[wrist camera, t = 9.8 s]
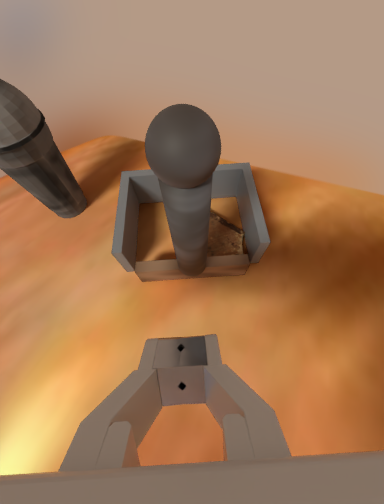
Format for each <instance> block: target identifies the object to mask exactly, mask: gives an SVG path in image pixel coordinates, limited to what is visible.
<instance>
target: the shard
mask: <svg viewBox="0 0 384 504" xmlns="http://www.w3.org/2000/svg"><path fill="white" fill-rule="evenodd" d="M244 234H245V232H244V231H242V230H240V229H239V228H237V227H236V226H234V225H233V224H231V223H228V222H227V221H226V220H224V219H223V218H221V217H219V216H218V215H216V214H215V213H213V212H211V211H210V220H209V234H208V248H207V257H213V256H227V255H242V254H243V249H242V239H243V236H244Z"/></svg>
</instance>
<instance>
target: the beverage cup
mask: <svg viewBox="0 0 384 504" xmlns="http://www.w3.org/2000/svg"><path fill="white" fill-rule="evenodd" d="M0 169H2V170H3V171H4V172H5V173H6V174H8V175H9V176H10V177H11V178H12V179H14V180H15V181H16V182H17V183H19V184H20V185H21V186H22V187H23V188H25V189H26V190H27V191H28V192H30V193H31V194H32V195H33V196H34V197H36V198H37V199H38V200H39V201H41V202H42V203H43V204H44V205H45V206H47V207H48V208H49V209H50V210H52V211H54V212H55V213H56V214H57V215H58V216H60V217H62V218H72V217H75V216H77V215H79V214H80V213H81V212H83V210H84V209H85V208H86V205H87V200H86V198H85V197H84V195H83V192H82V190H81V188H80V187H79V185H78V183H77V181H76V180H75V178H74V176H73V174H72V172H71V171H70V169H69V167H68V165H67V164H66V162H65V160H64V158H63V157H62V155H61V153H60V151H59V150H58V148H57V146H56V144H55V142H54V141H53V137H52V134H51V132H50V130H49V127H48V126H47V124H46V122H45V117H44V116H43V114H42V113H41V111H40V110H39V109H37V108H36V107H35V105H34V104H33V103H32V101H31V100H30V99H29V98H28V97H27V96H26V95H24V94H23V93H22V92H21V91H20V90H18V89H17V88H15V87H14V86H12V85H11V84H9V83H7V82H5V81H3V80H1V79H0Z"/></svg>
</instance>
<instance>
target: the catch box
mask: <svg viewBox="0 0 384 504" xmlns="http://www.w3.org/2000/svg"><path fill="white" fill-rule="evenodd" d="M225 197H236V198H237V203H238V208H239V213H240V218H241V222H242V227H243V231H244V232H245V234H244V237H245V242H246V247H247V252H248V257H249V261H250V263H258V262H259V260H260V259H261V257H262V255H263V254H264V252H265V250H266V249H267V247H268V246H269V244H270V239H269V235H268V231H267V227H266V224H265V220H264V216H263V212H262V209H261V205H260V201H259V197H258V194H257V190H256V186H255V182H254V179H253V175H252V171H251V167H250V164H249V163H236V164H221V165H217V167H216V169H215V171H214V172H213V179H212V193H211V198H225ZM153 202H163V198H162V194H161V190H160V186H159V181H158V177H157V176H156V175H155V174H154V172H153V171H152V170H151V169H150V170H136V171H122V174H121V182H120V190H119V197H118V205H117V213H116V221H115V229H114V237H113V245H112V255H113V256H114V257H115V258H116V259H117V261H118V262H119V263H120V264H121V265H122V267H123V268H124V269H125V270H126V271H127V272H130V271H135V265H136V250H137V234H138V219H139V204H140V203H153Z"/></svg>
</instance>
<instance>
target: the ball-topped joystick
mask: <svg viewBox="0 0 384 504" xmlns="http://www.w3.org/2000/svg"><path fill="white" fill-rule="evenodd" d="M145 152H146V157H147V161H148V163H149V166H150V168H151V170H152V171H153V172H154V174H155V175H156V176H157V177H158V181H159V186H160V190H161V194H162V198H163V203H164V207H165V211H166V216H167V220H168V224H169V229H170V233H171V237H172V242H173V246H174V250H175V255H176V259H170V260H156V261H141V262H136V266H135V273H136V274H137V276H138V277H139V278H140V280H141V281H142V282H145V281H159V280H174V279H188V278H202V277H216V276H231V275H244V274H245V272H246V270H247V269H248V267H249V265H250V263H249V258H248V254H242V255H227V256H213V257H207V248H208V234H209V220H210V207H211V193H212V179H213V172H214V171H215V169H216V167H217V165H218V162H219V159H220V154H221V140H220V135H219V132H218V129H217V127H216V125H215V123H214V122H213V120H212V119H211V118H210V117H209V116H208V114H206V113H205V112H204V111H203V110H201V109H199V108H197V107H195V106H192V105H188V104H176V105H172V106H169V107H167V108H166V109H164V110H162V111H161V112H160V113H159V114H158V115H157V116H156V117H155V118H154V119H153V121H152V122H151V124H150V126H149V128H148V131H147V134H146V139H145Z"/></svg>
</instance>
